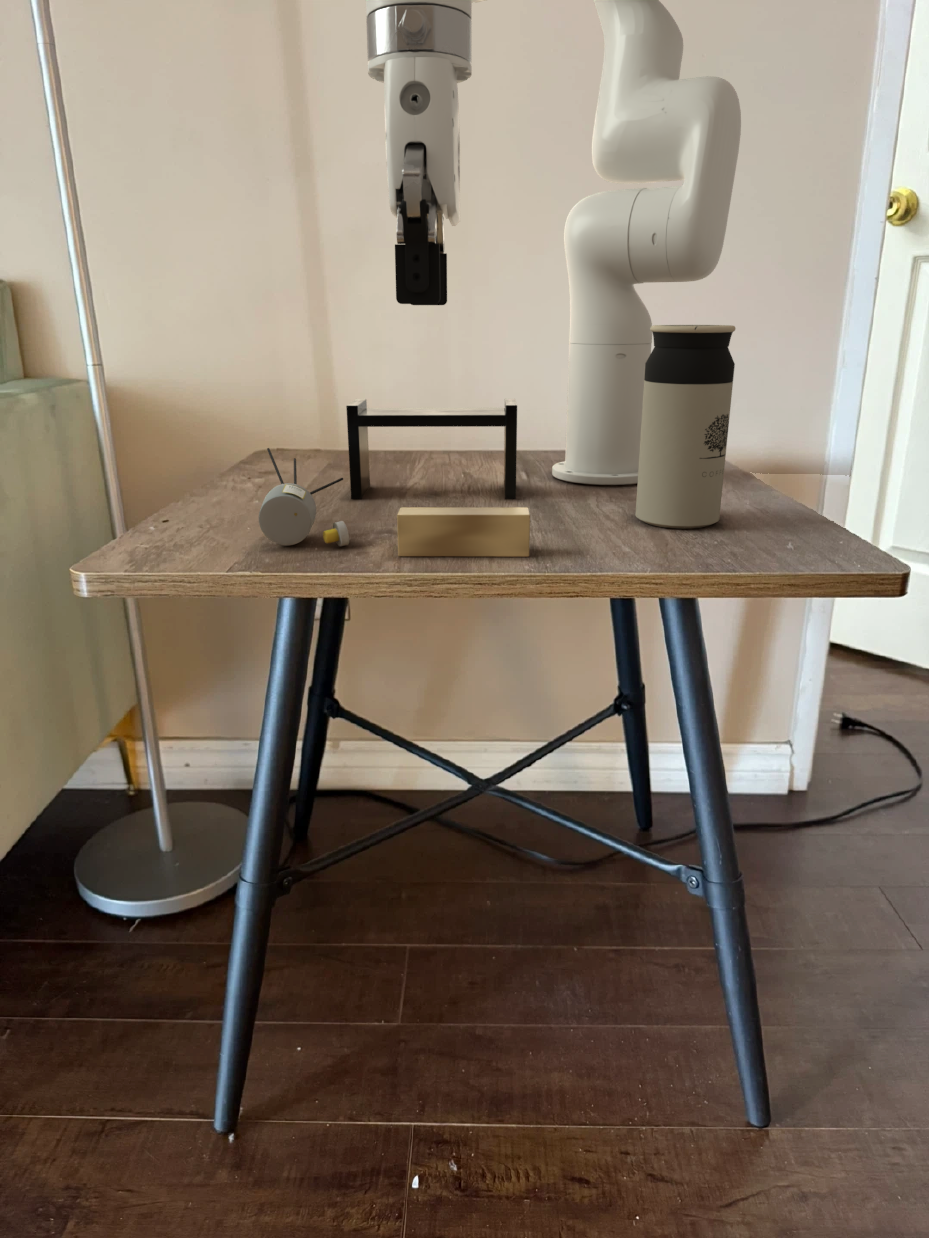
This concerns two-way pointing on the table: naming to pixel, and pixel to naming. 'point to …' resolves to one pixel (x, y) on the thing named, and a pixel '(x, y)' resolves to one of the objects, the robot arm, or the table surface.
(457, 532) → the block
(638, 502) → the travel mug
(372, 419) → the shelf
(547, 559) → the table surface
